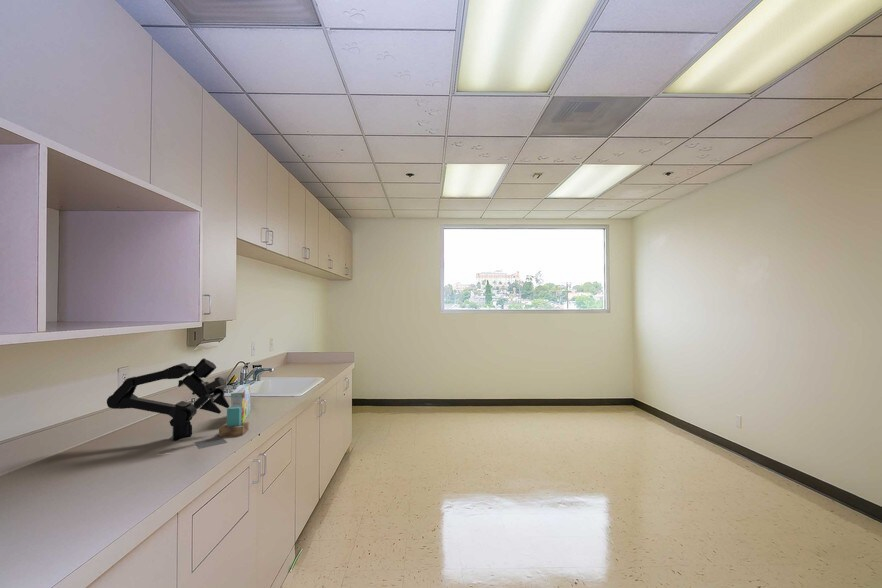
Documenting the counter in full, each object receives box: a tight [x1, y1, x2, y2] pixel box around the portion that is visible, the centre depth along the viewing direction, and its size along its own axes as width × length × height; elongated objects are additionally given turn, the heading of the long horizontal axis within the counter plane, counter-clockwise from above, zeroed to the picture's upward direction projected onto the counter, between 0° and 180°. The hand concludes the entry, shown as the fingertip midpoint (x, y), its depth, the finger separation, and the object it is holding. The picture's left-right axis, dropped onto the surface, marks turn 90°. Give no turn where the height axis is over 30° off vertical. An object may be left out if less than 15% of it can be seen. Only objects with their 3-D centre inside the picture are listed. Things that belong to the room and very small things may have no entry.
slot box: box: [218, 421, 250, 437], centre depth 169 cm, size 10×7×4 cm
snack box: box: [230, 383, 252, 423], centre depth 194 cm, size 21×6×15 cm, turn 17°
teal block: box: [226, 407, 242, 427], centre depth 169 cm, size 5×2×11 cm, turn 99°
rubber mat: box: [194, 436, 228, 449], centre depth 157 cm, size 10×10×1 cm
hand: (224, 410), depth 168 cm, fingers open, 9 cm apart
